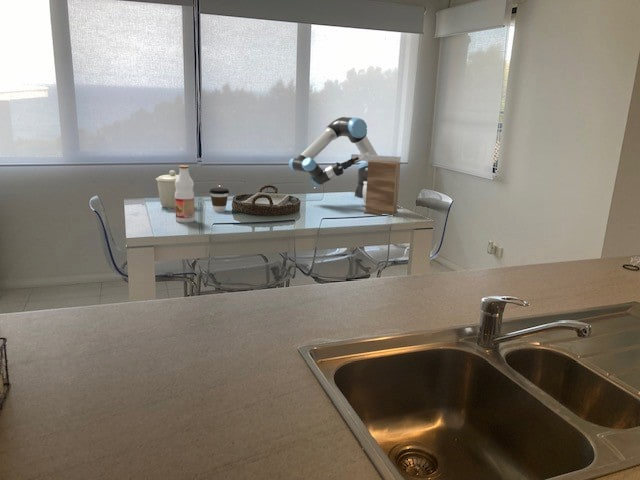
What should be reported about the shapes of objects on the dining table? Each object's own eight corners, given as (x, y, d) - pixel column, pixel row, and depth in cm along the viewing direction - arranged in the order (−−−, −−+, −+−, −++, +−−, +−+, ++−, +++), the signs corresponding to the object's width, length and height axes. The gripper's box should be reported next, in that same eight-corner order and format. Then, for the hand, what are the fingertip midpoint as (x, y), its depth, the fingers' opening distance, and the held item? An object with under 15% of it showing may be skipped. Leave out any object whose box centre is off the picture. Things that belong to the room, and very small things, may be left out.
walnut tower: (369, 209, 319) (373, 159, 312) (397, 212, 314) (401, 161, 307) (364, 213, 308) (367, 161, 300) (392, 216, 302) (396, 163, 295)
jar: (376, 207, 326) (377, 183, 323) (359, 206, 330) (361, 182, 326) (379, 205, 336) (381, 181, 332) (364, 203, 339) (365, 180, 336)
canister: (194, 205, 311) (193, 169, 306) (183, 211, 294) (182, 173, 289) (164, 203, 313) (162, 167, 308) (151, 209, 296) (150, 171, 290)
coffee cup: (205, 210, 297) (205, 189, 294) (217, 208, 306) (217, 187, 303) (221, 213, 292) (221, 191, 289) (233, 210, 302) (233, 189, 299)
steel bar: (351, 159, 308) (351, 154, 307) (400, 161, 305) (400, 156, 304) (351, 160, 304) (351, 154, 304) (400, 162, 301) (400, 157, 301)
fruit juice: (193, 223, 266) (192, 167, 259) (174, 222, 265) (172, 166, 258) (195, 219, 275) (194, 165, 268) (177, 218, 274) (175, 164, 268)
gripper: (343, 174, 326) (374, 158, 317) (331, 178, 304) (363, 162, 295) (338, 163, 326) (369, 147, 317) (325, 166, 304) (358, 149, 295)
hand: (366, 154), depth 306 cm, fingers open, 12 cm apart
